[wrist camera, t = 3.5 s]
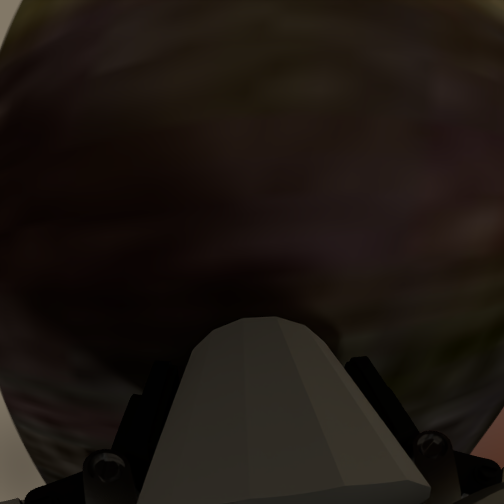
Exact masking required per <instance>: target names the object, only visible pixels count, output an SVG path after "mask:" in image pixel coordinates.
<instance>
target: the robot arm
mask: <svg viewBox="0 0 504 504" xmlns="http://www.w3.org/2000/svg"><path fill="white" fill-rule="evenodd" d="M344 369H345V370H346V372H347V373H348V374H349V376H350V377H351V378H352V380H353V381H354V383H355V384H356V385H357V387H358V388H359V389H360V391H361V392H362V393H363V395H364V396H365V397H366V399H367V400H368V402H369V403H370V404H371V406H372V407H373V408H374V410H375V411H376V412H377V414H378V415H379V417H380V418H381V419H382V421H383V422H384V423H385V425H386V426H387V427H388V429H389V430H390V432H391V433H392V434H393V436H394V437H395V438H396V440H397V441H398V443H399V444H400V445H401V447H402V448H403V449H404V451H405V452H406V453H407V455H408V456H409V458H410V459H411V460H412V462H413V463H414V464H415V466H416V467H417V469H418V470H419V471H420V473H421V474H422V475H423V477H424V478H425V480H426V481H427V482H428V484H429V485H430V486H431V491H430V497H429V498H428V499H426V500H425V501H423V502H422V503H420V504H504V467H503V468H502V469H501V468H500V467H499V465H498V464H497V463H496V462H494V461H492V460H490V459H485V458H481V457H477V456H473V455H469V454H465V453H461V452H457V451H454V450H453V447H452V444H451V441H450V439H449V438H448V437H447V436H446V435H444V434H443V433H441V432H438V431H432V430H429V431H424V432H422V433H419V431H418V430H417V428H416V426H415V425H414V423H413V422H412V420H411V419H410V417H409V416H408V414H407V413H406V411H405V410H404V408H403V407H402V405H401V404H400V402H399V401H398V399H397V398H396V396H395V395H394V393H393V392H392V390H391V389H390V388H389V387H387V385H386V384H385V382H384V381H383V379H382V378H381V376H380V375H379V373H378V372H377V370H376V369H375V367H374V366H373V364H372V363H371V361H370V360H369V358H368V357H367V356H363V357H354V358H351V359H350V362H347V363H346V364H345V368H344ZM178 387H179V378H178V370H177V366H172V364H171V362H166V361H155V362H154V364H153V366H152V369H151V372H150V375H149V377H148V380H147V383H146V386H145V388H144V391H143V394H142V395H137V394H133V395H132V396H131V398H130V400H129V403H128V406H127V408H126V411H125V413H124V416H123V418H122V421H121V424H120V426H119V429H118V432H117V434H116V437H115V440H114V443H113V445H112V448H111V449H101V450H97V451H95V452H92V453H91V454H89V455H88V456H87V457H86V459H85V460H84V462H83V471H82V472H79V473H77V474H74V475H72V476H69V477H66V478H64V479H61V480H58V481H55V482H53V483H50V484H47V485H44V486H41V487H38V488H35V489H33V490H31V491H30V492H29V493H28V494H27V495H26V497H25V500H20V499H19V498H16V499H12V500H8V501H4V502H0V504H137V501H138V499H139V496H140V493H141V490H142V487H143V484H144V481H145V478H146V475H147V473H148V470H149V467H150V464H151V461H152V459H153V456H154V453H155V450H156V447H157V445H158V442H159V439H160V436H161V434H162V431H163V428H164V425H165V423H166V420H167V417H168V414H169V412H170V409H171V406H172V403H173V401H174V398H175V395H176V393H177V390H178Z"/></svg>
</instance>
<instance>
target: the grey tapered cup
mask: <svg viewBox="0 0 504 504" xmlns="http://www.w3.org/2000/svg"><path fill="white" fill-rule="evenodd" d="M430 491H431V486H430V485H429V484H428V482H427V481H426V480H425V478H424V477H423V475H422V474H421V473H420V471H419V470H418V469H417V467H416V466H415V464H414V463H413V462H412V460H411V459H410V458H409V456H408V455H407V453H406V452H405V451H404V449H403V448H402V447H401V445H400V444H399V443H398V441H397V440H396V438H395V437H394V436H393V434H392V433H391V432H390V430H389V429H388V427H387V426H386V425H385V423H384V422H383V421H382V419H381V418H380V417H379V415H378V414H377V412H376V411H375V410H374V408H373V407H372V406H371V404H370V403H369V402H368V400H367V399H366V397H365V396H364V395H363V393H362V392H361V391H360V389H359V388H358V387H357V385H356V384H355V383H354V381H353V380H352V378H351V377H350V376H349V374H348V373H347V372H346V370H345V369H344V368H343V366H342V365H341V364H340V362H339V361H338V359H337V358H336V357H335V355H334V354H333V353H332V351H331V350H330V349H329V347H328V346H327V345H326V343H325V342H324V341H323V340H322V339H320V338H319V337H318V336H317V335H316V334H315V333H313V332H312V331H311V330H310V329H309V328H308V327H306V326H305V325H303V324H299V323H296V322H293V321H289V320H286V319H283V318H280V317H276V316H274V317H254V318H242V319H239V320H237V321H234V322H232V323H229V324H227V325H224V326H222V327H219V328H217V329H214V330H213V331H211V332H210V333H209V334H208V335H207V336H206V337H205V338H204V339H203V340H202V341H201V342H200V343H199V344H198V345H197V346H196V347H195V348H194V349H193V350H192V353H191V356H190V358H189V361H188V363H187V366H186V369H185V371H184V374H183V377H182V379H181V382H180V385H179V387H178V390H177V393H176V395H175V398H174V401H173V403H172V406H171V409H170V412H169V414H168V417H167V420H166V423H165V425H164V428H163V431H162V434H161V436H160V439H159V442H158V445H157V447H156V450H155V453H154V456H153V459H152V461H151V464H150V467H149V470H148V473H147V475H146V478H145V481H144V484H143V487H142V490H141V493H140V496H139V499H138V501H137V504H420V503H422V502H423V501H425V500H426V499H428V498H429V497H430Z"/></svg>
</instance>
